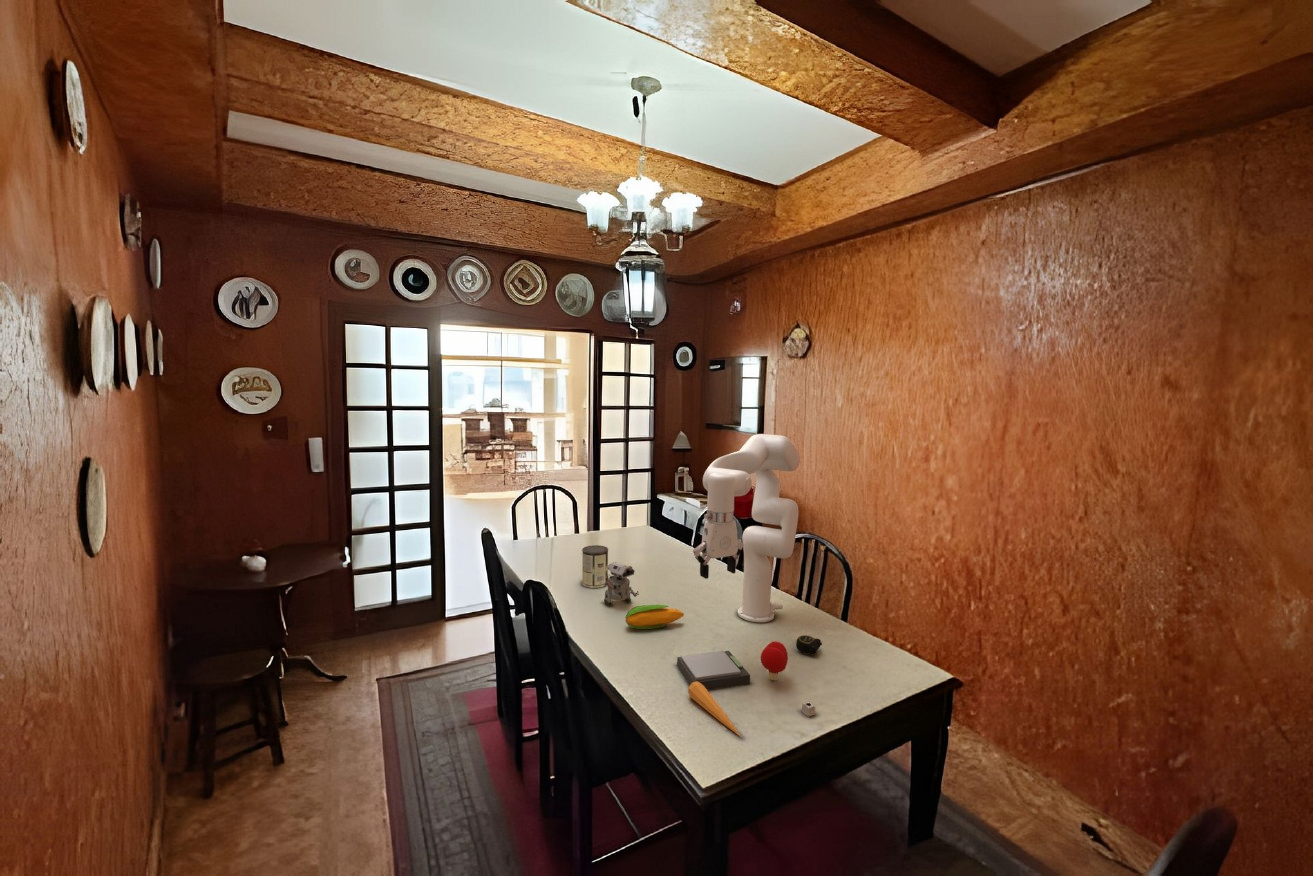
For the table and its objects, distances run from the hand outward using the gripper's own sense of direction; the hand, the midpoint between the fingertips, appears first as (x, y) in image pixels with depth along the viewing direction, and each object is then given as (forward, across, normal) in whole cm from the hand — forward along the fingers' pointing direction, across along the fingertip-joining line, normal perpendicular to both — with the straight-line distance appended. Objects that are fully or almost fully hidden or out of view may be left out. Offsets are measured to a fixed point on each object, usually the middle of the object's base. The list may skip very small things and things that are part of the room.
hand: (717, 574), depth 160 cm
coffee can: (+26, -5, +72) cm, 77 cm away
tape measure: (+26, +29, -10) cm, 40 cm away
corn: (+26, -4, +27) cm, 38 cm away
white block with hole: (+26, +4, -32) cm, 42 cm away
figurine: (+26, -6, +48) cm, 55 cm away
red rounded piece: (+26, +7, -17) cm, 32 cm away
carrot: (+26, -17, -22) cm, 38 cm away
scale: (+26, -6, -6) cm, 27 cm away
